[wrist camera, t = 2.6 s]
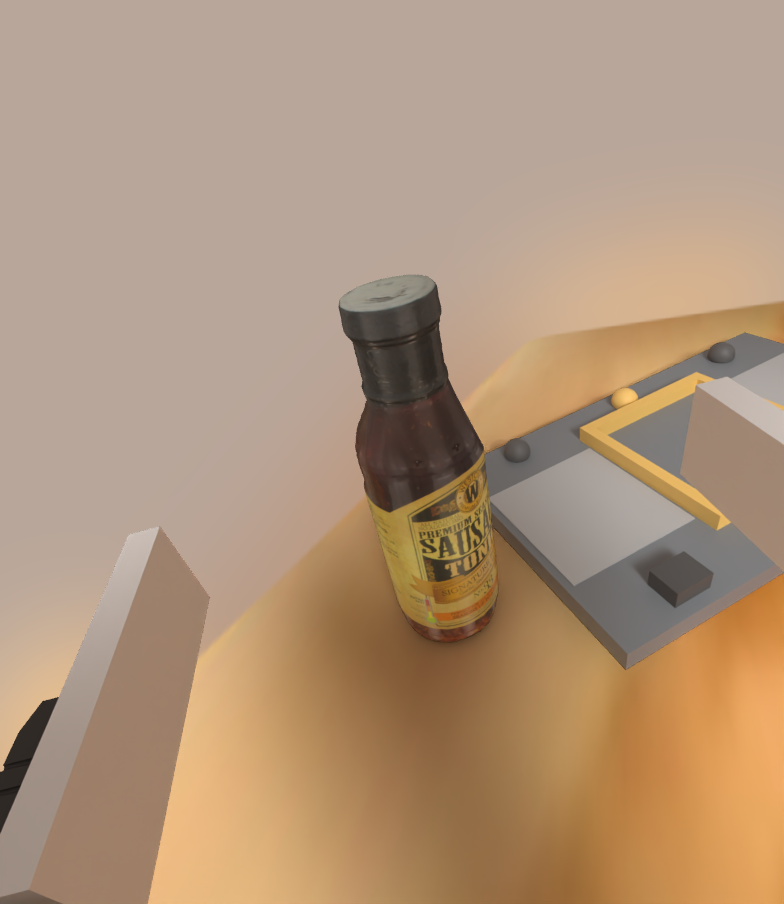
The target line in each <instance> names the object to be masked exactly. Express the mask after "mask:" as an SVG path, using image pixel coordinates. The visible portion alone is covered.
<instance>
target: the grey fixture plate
mask: <svg viewBox="0 0 784 904" xmlns="http://www.w3.org/2000/svg"><path fill="white" fill-rule="evenodd" d="M724 377H729V378H730V379H732V380H734V381H735V382H737V383H739V384H740V385H742V386H744V387H745V388H747V389H748V390H750V391H752V392H753V393H755V394H757V395H758V396H760V397H762V398H763V399H765V400H766V401H768V402H770V403H771V404H773V405H775V406H776V407H778V408H780V409H781V410H783V411H784V344H782V343H779V342H775V341H772V340H768V339H765V338H762V337H758V336H755V335H751V334H748V333H743V334H740V335H738V336H736V337H734V338H732V339H730V340H728V341H726V342H720V343H717V344H715V345H713V346H712V347H711V348H710V349H709V350H706V351H704V352H702V353H700V354H698V355H696V356H694V357H691V358H689V359H687V360H685V361H683V362H681V363H679V364H677V365H674V366H672V367H670V368H668V369H666V370H664V371H662V372H660V373H657V374H655V375H653V376H651V377H649V378H647V379H645V380H642V381H640V382H638V383H636V384H634V385H632V386H630V387H628V388H621V389H618V390H617V391H616V392H615V393H614V394H613V395H610V396H608V397H606V398H604V399H602V400H600V401H598V402H596V403H593V404H591V405H589V406H587V407H585V408H583V409H581V410H579V411H576V412H574V413H572V414H570V415H568V416H566V417H564V418H561V419H559V420H557V421H555V422H553V423H551V424H549V425H547V426H544V427H542V428H540V429H538V430H536V431H534V432H532V433H530V434H527V435H525V436H523V437H521V438H515V439H512V440H510V441H508V442H507V444H506V445H504V446H502V447H500V448H498V449H495V450H493V451H491V452H489V453H487V454H485V455H484V456H485V465H486V475H487V483H488V490H489V498H490V508H491V518H492V526H493V527H494V528H495V529H496V530H497V531H498V532H499V533H500V534H501V536H502V537H503V538H504V539H505V540H506V541H507V542H508V543H509V544H510V545H511V546H512V547H513V549H514V550H515V551H516V552H517V553H518V554H519V555H520V556H521V557H522V558H523V559H524V560H525V561H526V563H527V564H528V565H529V566H530V567H531V568H532V569H533V570H534V571H535V572H536V573H537V574H538V576H539V577H540V578H541V579H542V580H543V581H544V582H545V583H546V584H547V585H548V586H549V587H550V589H551V590H552V591H553V592H554V593H555V594H556V595H557V596H558V597H559V598H560V599H561V600H562V601H563V603H564V604H565V605H566V606H567V607H568V608H569V609H570V610H571V611H572V612H573V613H574V614H575V616H576V617H577V618H578V619H579V620H580V621H581V622H582V623H583V624H584V625H585V626H586V627H587V628H588V630H589V631H590V632H591V633H592V634H593V635H594V636H595V637H596V638H597V639H598V640H599V641H600V643H601V644H602V645H603V646H604V647H605V648H606V649H607V650H608V651H609V652H610V653H611V654H612V655H613V657H614V658H615V659H616V660H617V661H618V662H619V663H620V664H621V665H622V666H623V667H624V668H625V670H626V669H628V668H630V667H631V666H633V665H635V664H636V663H638V662H639V661H641V660H643V659H644V658H646V657H648V656H649V655H651V654H652V653H654V652H656V651H657V650H659V649H661V648H662V647H664V646H665V645H667V644H669V643H670V642H672V641H674V640H675V639H677V638H678V637H680V636H682V635H683V634H685V633H687V632H688V631H690V630H691V629H693V628H695V627H696V626H698V625H700V624H701V623H703V622H704V621H706V620H708V619H709V618H711V617H713V616H714V615H716V614H717V613H719V612H721V611H722V610H724V609H726V608H727V607H729V606H730V605H732V604H734V603H735V602H737V601H739V600H740V599H742V598H743V597H745V596H747V595H748V594H750V593H752V592H753V591H755V590H756V589H758V588H760V587H761V586H763V585H765V584H766V583H768V582H769V581H771V580H773V579H774V578H776V577H778V576H779V575H781V574H782V573H784V572H783V571H782V570H781V569H780V568H779V567H778V566H777V565H776V564H775V563H774V562H773V561H772V560H771V559H770V558H768V557H767V556H766V555H765V554H764V553H763V552H762V551H761V550H760V549H759V548H758V547H757V546H756V545H755V544H754V543H753V542H752V541H751V540H749V539H748V538H747V537H746V536H745V535H744V534H743V533H742V532H741V531H740V530H739V529H738V528H737V527H736V526H735V525H734V524H733V523H732V522H730V521H729V520H728V519H727V518H726V517H725V516H724V515H723V514H722V513H721V512H720V511H719V510H718V509H717V508H716V507H715V506H714V505H713V504H711V503H710V502H709V501H708V500H707V499H706V498H705V497H704V496H703V495H702V494H701V493H700V492H699V491H698V490H697V489H696V488H695V487H694V486H692V485H691V484H690V483H689V482H688V481H687V480H686V479H685V478H684V477H683V476H682V475H681V474H680V471H681V465H682V460H683V454H684V449H685V443H686V437H687V432H688V426H689V421H690V415H691V409H692V404H693V398H694V392H695V387H696V385H697V384H701V383H705V382H709V381H713V380H716V379H720V378H724Z"/></svg>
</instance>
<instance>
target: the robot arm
mask: <svg viewBox="0 0 784 904" xmlns="http://www.w3.org/2000/svg"><path fill="white" fill-rule="evenodd" d="M680 474H681V475H682V476H683V477H684V478H685V479H686V480H687V481H688V482H689V483H690V484H691V485H692V486H694V487H695V488H696V489H697V490H698V491H699V492H700V493H701V494H702V495H703V496H704V497H705V498H706V499H707V500H708V501H709V502H710V503H711V504H713V505H714V506H715V507H716V508H717V509H718V510H719V511H720V512H721V513H722V514H723V515H724V516H725V517H726V518H727V519H728V520H729V521H730V522H732V523H733V524H734V525H735V526H736V527H737V528H738V529H739V530H740V531H741V532H742V533H743V534H744V535H745V536H746V537H747V538H748V539H749V540H751V541H752V542H753V543H754V544H755V545H756V546H757V547H758V548H759V549H760V550H761V551H762V552H763V553H764V554H765V555H766V556H767V557H768V558H770V559H771V560H772V561H773V562H774V563H775V564H776V565H777V566H778V567H779V568H780V569H781V570H782V571H783V572H784V411H783V410H781V409H780V408H778V407H776V406H775V405H773V404H771V403H770V402H768V401H766V400H765V399H763V398H762V397H760V396H758V395H757V394H755V393H753V392H752V391H750V390H748V389H747V388H745V387H744V386H742V385H740V384H739V383H737V382H735V381H734V380H732V379H730V378H729V377H724V378H720V379H716V380H713V381H709V382H705V383H701V384H697V385H696V387H695V392H694V398H693V404H692V409H691V415H690V421H689V426H688V432H687V437H686V443H685V449H684V454H683V460H682V465H681V471H680ZM209 599H210V597H209V596H208V594H207V593H206V591H205V590H204V588H203V587H202V586H201V584H200V583H199V581H198V580H197V578H196V577H195V576H194V575H193V573H192V571H191V570H190V568H189V567H188V566H187V564H186V563H185V561H184V560H183V558H182V557H181V556H180V554H179V553H178V551H177V550H176V548H175V547H174V546H173V545H172V543H171V541H170V540H169V538H168V537H167V536H166V534H165V533H164V532H163V530H162V528H161V527H160V526H159V527H155V528H151V529H147V530H144V531H140V532H136V533H132V534H129V535H128V538H127V540H126V542H125V544H124V547H123V549H122V551H121V554H120V556H119V558H118V561H117V563H116V566H115V568H114V570H113V572H112V575H111V577H110V579H109V582H108V584H107V587H106V589H105V591H104V593H103V596H102V598H101V600H100V603H99V605H98V607H97V610H96V612H95V614H94V617H93V619H92V621H91V624H90V626H89V628H88V631H87V633H86V635H85V638H84V640H83V642H82V645H81V647H80V649H79V652H78V654H77V657H76V659H75V661H74V663H73V666H72V668H71V670H70V673H69V675H68V677H67V680H66V682H65V685H64V687H63V689H62V691H61V694H60V696H59V697H57V698H54V699H50V700H46V701H42V703H41V704H40V705H39V707H38V708H37V709H36V711H35V712H34V713H33V714H32V716H31V717H30V718H29V720H28V721H27V722H26V724H25V725H24V726H23V728H22V729H21V730H20V732H19V733H18V735H17V737H16V739H15V741H14V744H13V746H12V748H11V750H10V752H9V754H8V756H7V759H6V761H5V763H4V765H3V766H4V771H2V772H0V904H148V899H149V894H150V889H151V884H152V879H153V874H154V870H155V865H156V860H157V855H158V850H159V845H160V840H161V835H162V830H163V825H164V820H165V815H166V810H167V805H168V801H169V796H170V791H171V786H172V781H173V776H174V771H175V766H176V761H177V756H178V751H179V746H180V741H181V737H182V732H183V727H184V722H185V717H186V712H187V707H188V702H189V697H190V692H191V687H192V682H193V677H194V672H195V668H196V663H197V658H198V653H199V648H200V643H201V638H202V633H203V628H204V623H205V618H206V613H207V608H208V604H209Z"/></svg>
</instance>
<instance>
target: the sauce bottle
mask: <svg viewBox="0 0 784 904" xmlns="http://www.w3.org/2000/svg"><path fill="white" fill-rule="evenodd" d="M339 311H340V315H341V321H342V326H343V330H344V332H345V334H346V336H347V337H348V338H350V340H351V341H352V342H353V345H354V350H355V354H356V357H357V362H358V366H359V369H360V373H361V377H362V380H363V381H362V389H363V392H364V395H365V397H366V399H367V401H366V403H365V408H364V411H363V413H362V415H361V419H360V421H359V423H358V427H357V432H356V445H355V448H356V452H357V458H358V462H359V465H360V469H361V471H362V474H363V476H364V489H365V492H366V496H367V499H368V502H369V506H370V509H371V512H372V516H373V519H374V522H375V526H376V529H377V532H378V536H379V539H380V542H381V546H382V549H383V553H384V556H385V560H386V563H387V566H388V570H389V573H390V576H391V580H392V583H393V587H394V590H395V593H396V596H397V600H398V602H399V605H400V606H401V608H402V611H403V613H404V614H405V616H406V618H407V620H408V622H409V623H410V625H411V626H412V627H413V629H414V630H416V631H417V632H418V633H419V634H421V635H422V636H424V637H426V638H428V639H431V640H434V641H439V642H441V641H442V642H454V641H458V640H461V639H464V638H467V637H469V636H472V635H474V634H475V633H476V632H479V631H481V630H482V628H483V627H484V626H486V625H487V624H488V623H489V621H490V619H491V617H492V614H493V611H494V608H495V606H496V599H497V595H498V588H499V583H498V573H497V563H496V554H495V545H494V537H493V528H492V518H491V508H490V498H489V490H488V483H487V475H486V465H485V456H484V447H483V445H482V443H481V441H480V439H479V437H478V435H477V433H476V432H475V430H474V428H473V426H472V424H471V422H470V420H469V418H468V417H467V415H466V413H465V411H464V409H463V407H462V405H461V403H460V402H459V400H458V398H457V396H456V394H455V392H454V390H453V388H452V386H451V383H450V381H449V379H448V371H447V367H446V365H445V363H444V358H443V352H442V343H441V338H440V331H439V322H440V315H441V305H440V301H439V297H438V290H437V285H436V284H435V282H434V281H433V280H432V279H430V278H429V277H427V276H423V275H403V276H396V277H390V278H385V279H380V280H377V281H373V282H370V283H367V284H364V285H362V286H359V287H357V288H355V289H353V290H352V291H350V292H348V293H346V294H345V295H344V296H343V297H342V298H341V299H340V301H339Z"/></svg>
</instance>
